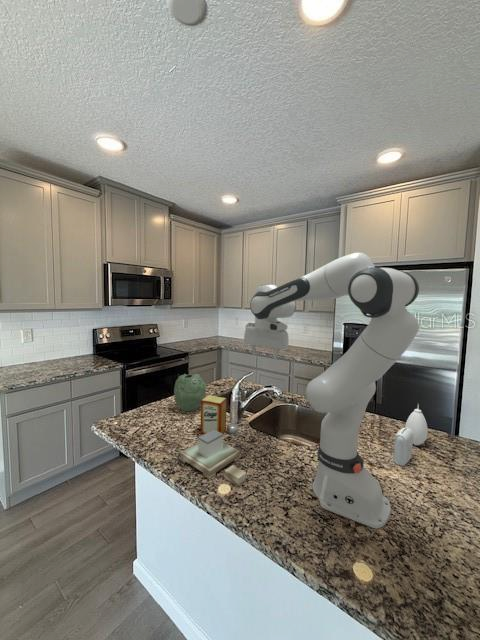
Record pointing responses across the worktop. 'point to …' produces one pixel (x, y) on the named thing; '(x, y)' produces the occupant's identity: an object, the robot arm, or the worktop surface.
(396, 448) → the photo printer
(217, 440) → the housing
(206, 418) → the baking soda box
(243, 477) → the beech block
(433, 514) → the worktop surface
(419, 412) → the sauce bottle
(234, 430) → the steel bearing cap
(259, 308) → the robot arm
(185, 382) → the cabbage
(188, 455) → the stand
